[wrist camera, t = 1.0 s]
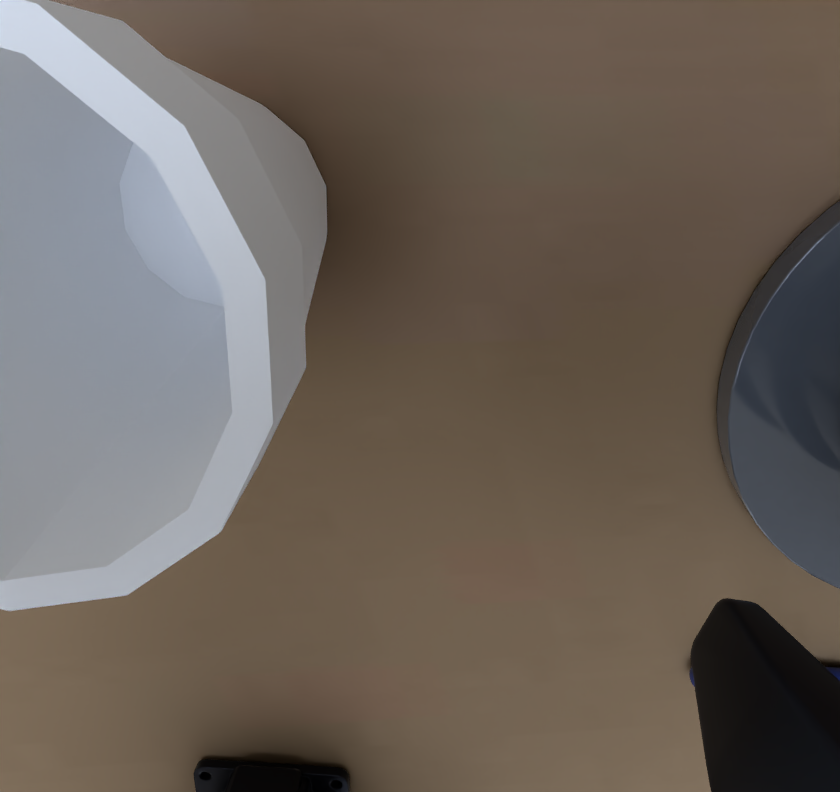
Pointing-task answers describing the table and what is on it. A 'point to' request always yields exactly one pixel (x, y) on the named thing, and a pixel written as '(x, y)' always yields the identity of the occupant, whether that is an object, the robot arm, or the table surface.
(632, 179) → the table surface
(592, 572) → the table surface
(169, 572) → the table surface
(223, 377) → the foam cup
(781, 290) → the plant pot
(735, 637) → the robot arm
